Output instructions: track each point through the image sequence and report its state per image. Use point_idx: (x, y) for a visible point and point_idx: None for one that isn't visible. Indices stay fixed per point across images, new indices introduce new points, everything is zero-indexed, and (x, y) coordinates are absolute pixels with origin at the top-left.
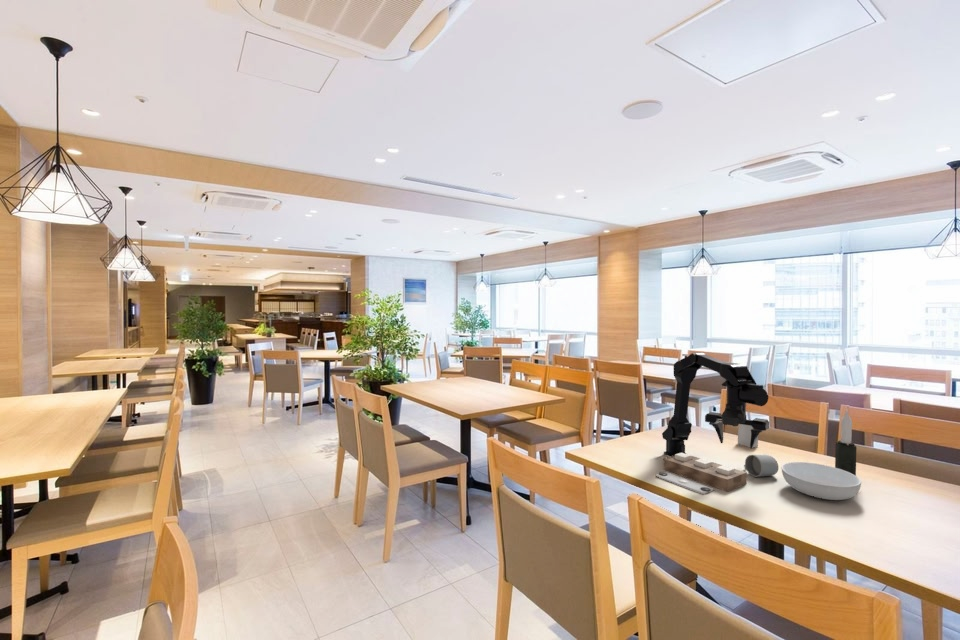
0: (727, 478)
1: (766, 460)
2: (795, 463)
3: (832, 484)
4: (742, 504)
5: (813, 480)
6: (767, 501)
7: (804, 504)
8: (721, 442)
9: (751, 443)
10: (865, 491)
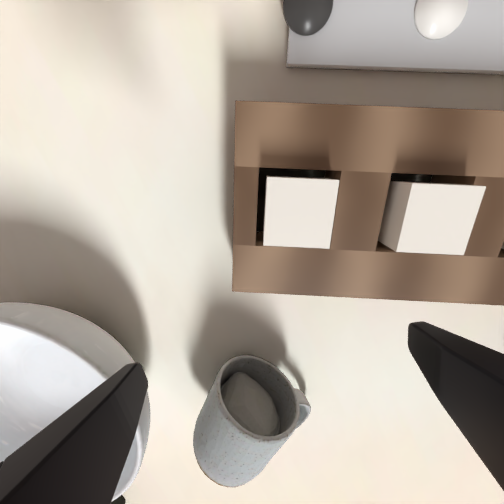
0: (245, 120)
1: (212, 436)
2: (129, 474)
3: None
4: (125, 14)
5: None
6: (99, 156)
7: (30, 244)
8: (418, 324)
9: (90, 404)
10: None
